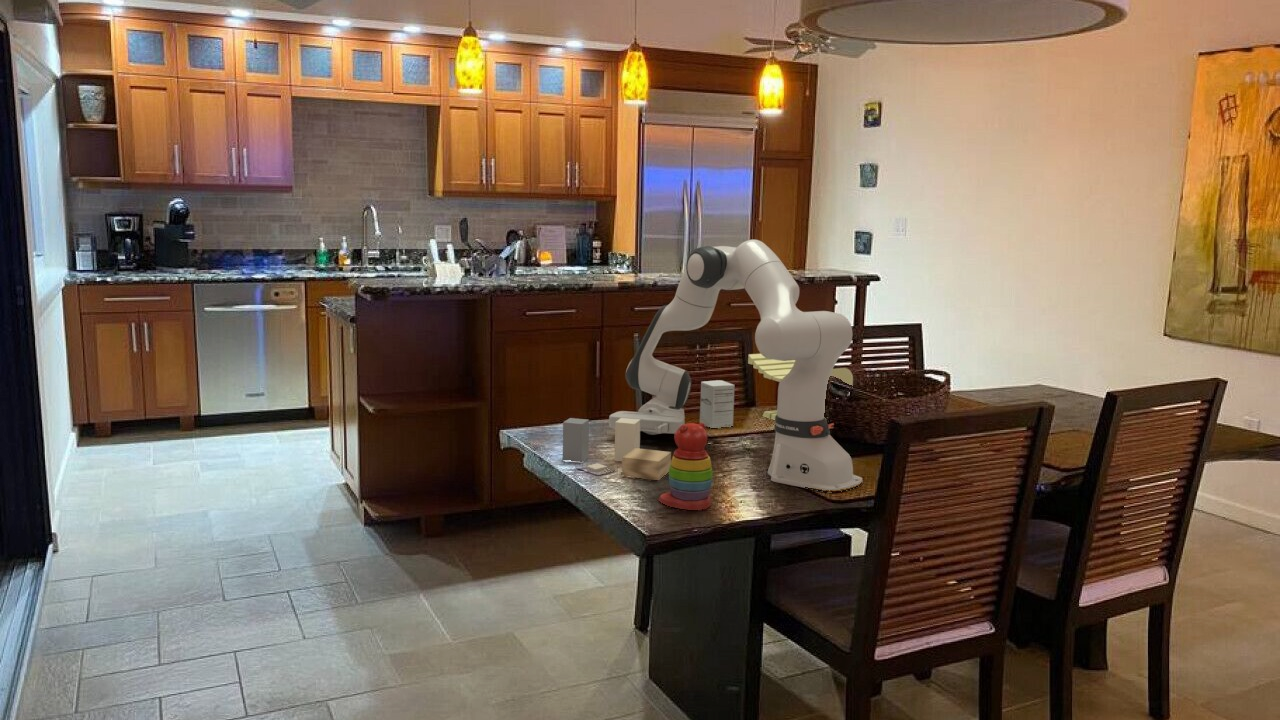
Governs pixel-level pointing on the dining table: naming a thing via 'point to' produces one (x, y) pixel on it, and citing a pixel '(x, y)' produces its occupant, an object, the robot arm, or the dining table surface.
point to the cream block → (626, 436)
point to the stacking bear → (689, 470)
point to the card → (599, 467)
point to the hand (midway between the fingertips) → (639, 429)
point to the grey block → (575, 439)
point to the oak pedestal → (646, 463)
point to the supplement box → (717, 404)
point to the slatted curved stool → (782, 368)
